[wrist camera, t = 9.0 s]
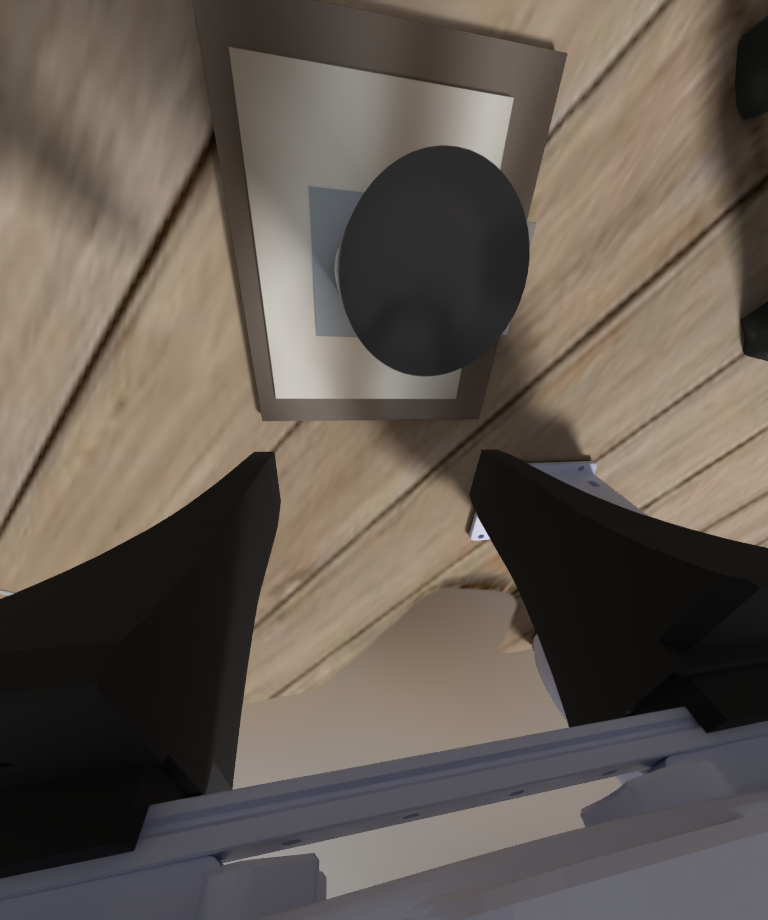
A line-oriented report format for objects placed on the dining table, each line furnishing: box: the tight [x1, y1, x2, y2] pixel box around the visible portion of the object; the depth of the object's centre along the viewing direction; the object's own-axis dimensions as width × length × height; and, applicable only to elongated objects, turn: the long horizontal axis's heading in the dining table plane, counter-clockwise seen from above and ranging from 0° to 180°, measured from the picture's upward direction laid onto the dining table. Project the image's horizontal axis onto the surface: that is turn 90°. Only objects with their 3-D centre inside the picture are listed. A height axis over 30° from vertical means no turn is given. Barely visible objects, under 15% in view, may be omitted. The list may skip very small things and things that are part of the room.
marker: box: [334, 145, 530, 377], centre depth 11 cm, size 4×4×10 cm
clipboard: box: [193, 0, 567, 421], centre depth 15 cm, size 14×16×2 cm
